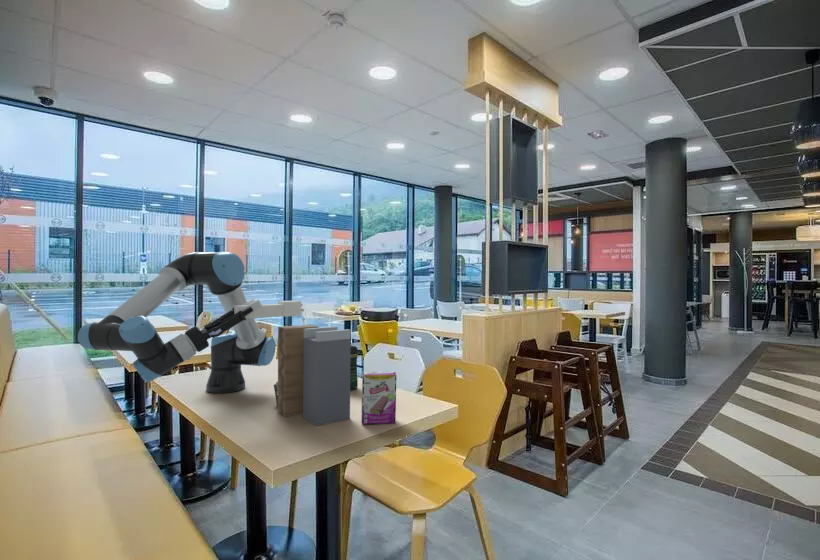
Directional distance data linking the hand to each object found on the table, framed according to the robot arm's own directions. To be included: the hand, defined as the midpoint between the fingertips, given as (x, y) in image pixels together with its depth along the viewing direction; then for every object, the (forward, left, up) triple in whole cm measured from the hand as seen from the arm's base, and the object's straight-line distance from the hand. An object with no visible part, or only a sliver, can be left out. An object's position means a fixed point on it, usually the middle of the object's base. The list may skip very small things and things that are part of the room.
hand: (257, 302), depth 143 cm
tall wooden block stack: (0, +14, -39) cm, 41 cm away
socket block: (+12, +19, -39) cm, 45 cm away
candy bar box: (+26, +31, -39) cm, 57 cm away
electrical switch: (-11, +14, -39) cm, 43 cm away
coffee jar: (-18, +43, -39) cm, 61 cm away
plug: (0, +4, -5) cm, 6 cm away
